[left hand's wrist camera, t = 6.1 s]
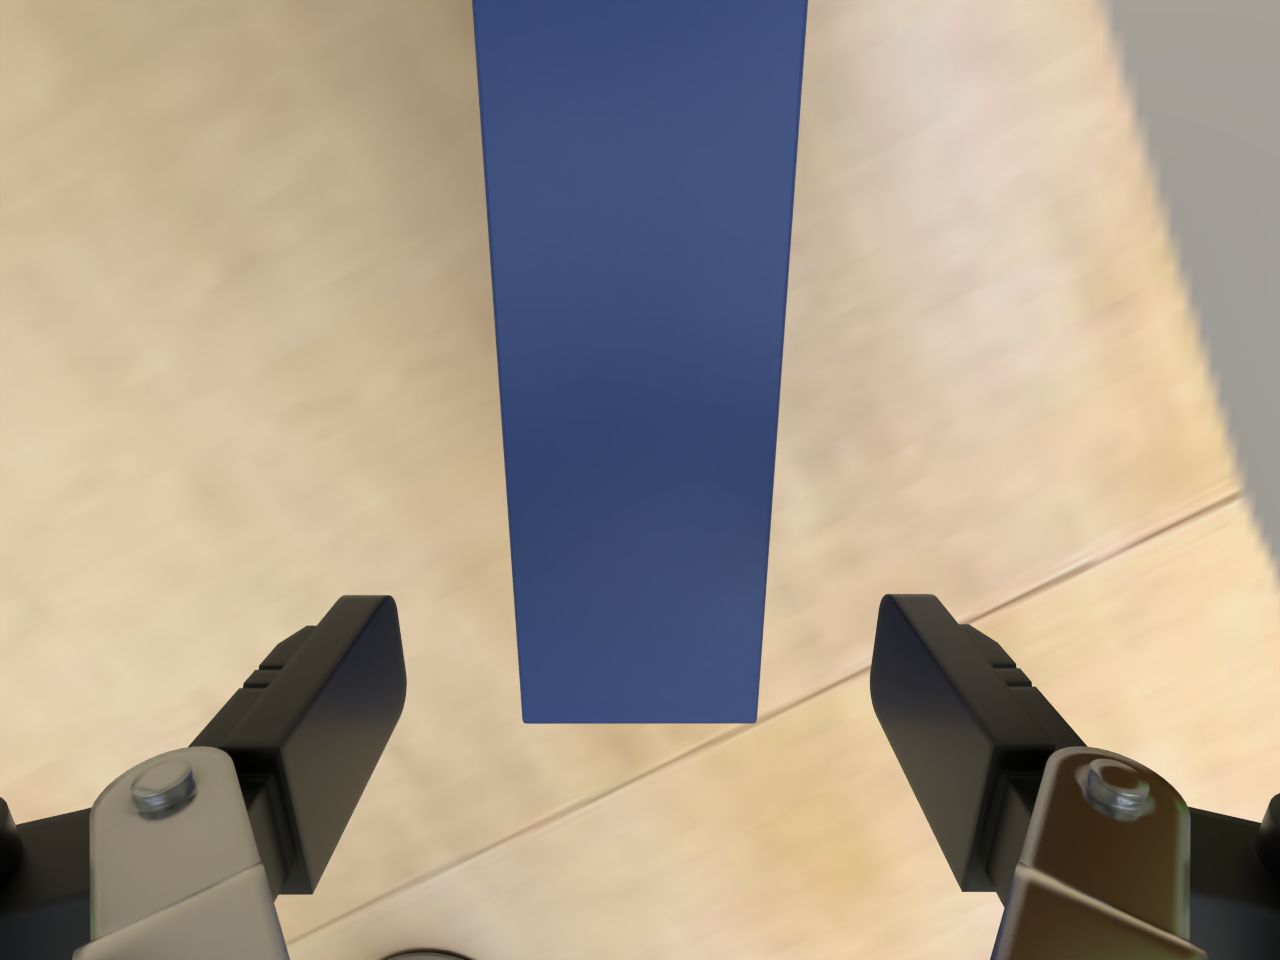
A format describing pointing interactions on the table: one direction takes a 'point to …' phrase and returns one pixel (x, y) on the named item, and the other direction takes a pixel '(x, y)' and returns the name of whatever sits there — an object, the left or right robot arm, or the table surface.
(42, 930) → the left robot arm
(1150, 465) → the table surface
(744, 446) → the bar
